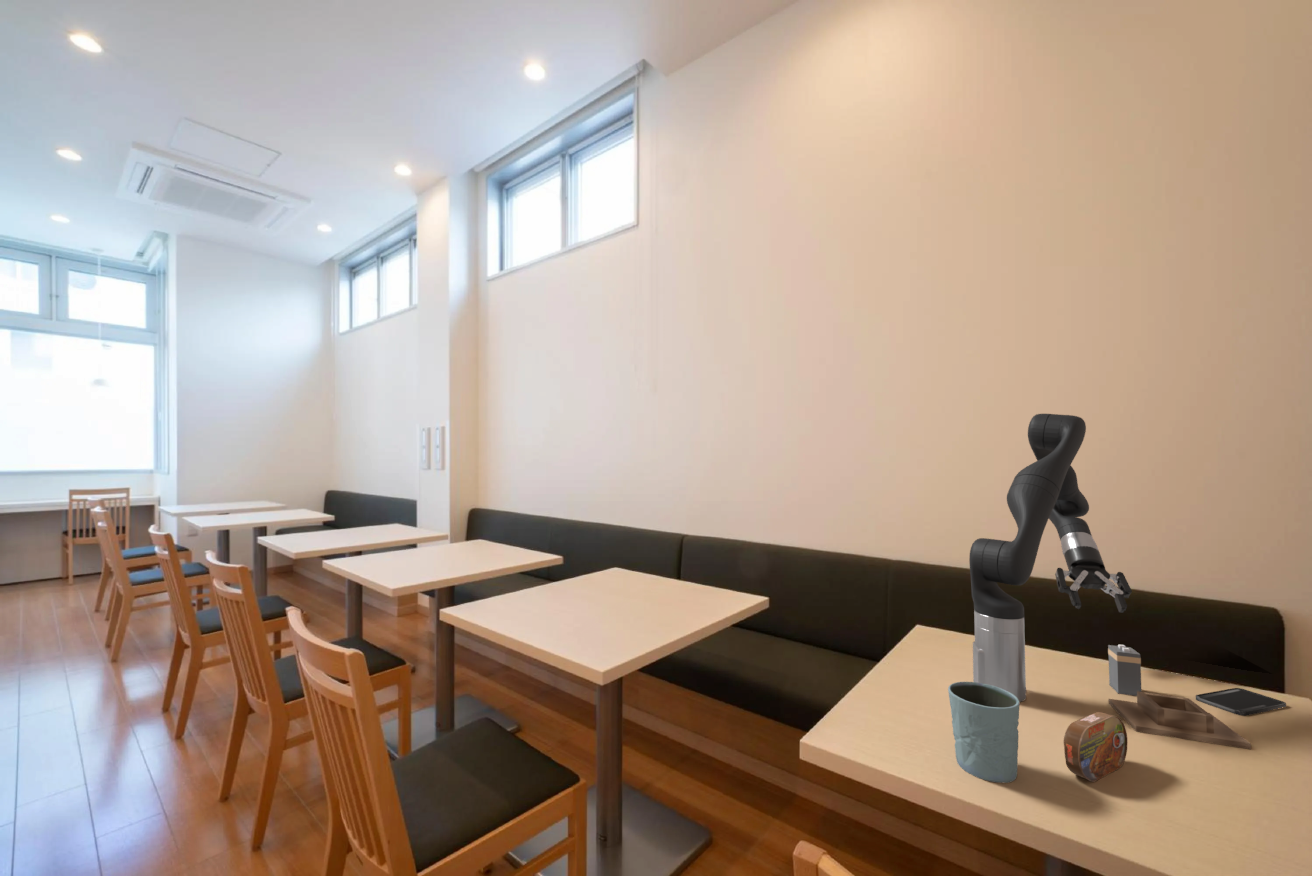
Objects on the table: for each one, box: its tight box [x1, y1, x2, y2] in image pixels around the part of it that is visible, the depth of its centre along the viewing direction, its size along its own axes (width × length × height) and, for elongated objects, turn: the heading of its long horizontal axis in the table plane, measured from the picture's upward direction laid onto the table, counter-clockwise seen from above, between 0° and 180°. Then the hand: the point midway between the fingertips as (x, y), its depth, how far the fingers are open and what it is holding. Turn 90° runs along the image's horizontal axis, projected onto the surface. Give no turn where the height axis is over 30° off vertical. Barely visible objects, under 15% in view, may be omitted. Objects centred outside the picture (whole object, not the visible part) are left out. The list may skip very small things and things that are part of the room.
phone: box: [1195, 687, 1287, 717], centre depth 110 cm, size 8×1×15 cm
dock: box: [1108, 691, 1252, 750], centre depth 101 cm, size 16×12×4 cm
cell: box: [1107, 644, 1142, 697], centre depth 116 cm, size 4×5×10 cm
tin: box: [1063, 711, 1128, 783], centre depth 86 cm, size 15×3×8 cm, turn 116°
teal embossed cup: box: [947, 681, 1020, 784], centre depth 87 cm, size 10×10×12 cm
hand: (1100, 609), depth 127 cm, fingers open, 8 cm apart
